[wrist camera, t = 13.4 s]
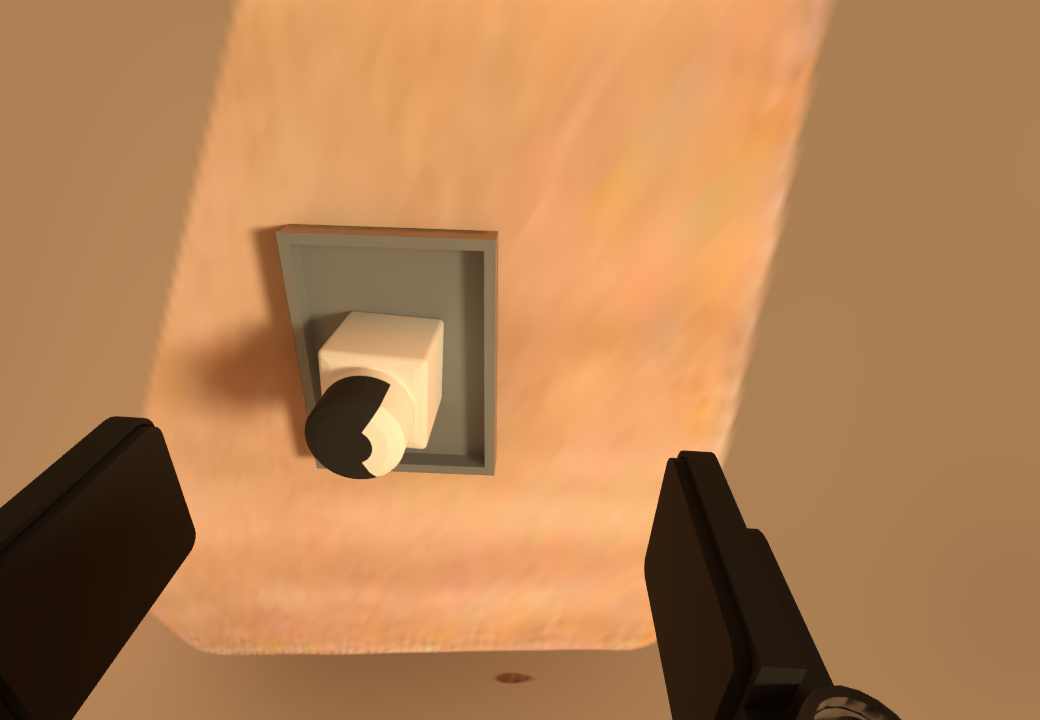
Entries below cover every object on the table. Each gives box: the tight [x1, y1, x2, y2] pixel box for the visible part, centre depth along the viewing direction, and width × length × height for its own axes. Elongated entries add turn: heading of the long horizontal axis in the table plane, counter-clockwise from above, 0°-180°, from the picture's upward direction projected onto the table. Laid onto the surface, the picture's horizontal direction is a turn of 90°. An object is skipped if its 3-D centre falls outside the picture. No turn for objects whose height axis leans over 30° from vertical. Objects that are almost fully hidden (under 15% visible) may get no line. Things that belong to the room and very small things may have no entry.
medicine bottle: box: [305, 311, 444, 479], centre depth 38 cm, size 7×7×12 cm
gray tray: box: [275, 224, 498, 476], centre depth 43 cm, size 20×15×2 cm
